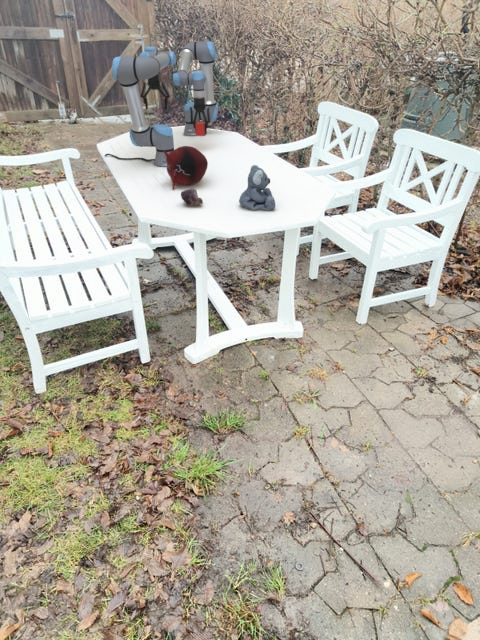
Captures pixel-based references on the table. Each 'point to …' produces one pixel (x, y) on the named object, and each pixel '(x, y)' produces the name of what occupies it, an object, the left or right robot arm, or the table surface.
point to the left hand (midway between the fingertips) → (156, 109)
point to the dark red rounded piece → (186, 165)
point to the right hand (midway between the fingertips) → (201, 133)
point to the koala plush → (257, 191)
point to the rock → (191, 197)
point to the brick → (200, 128)
